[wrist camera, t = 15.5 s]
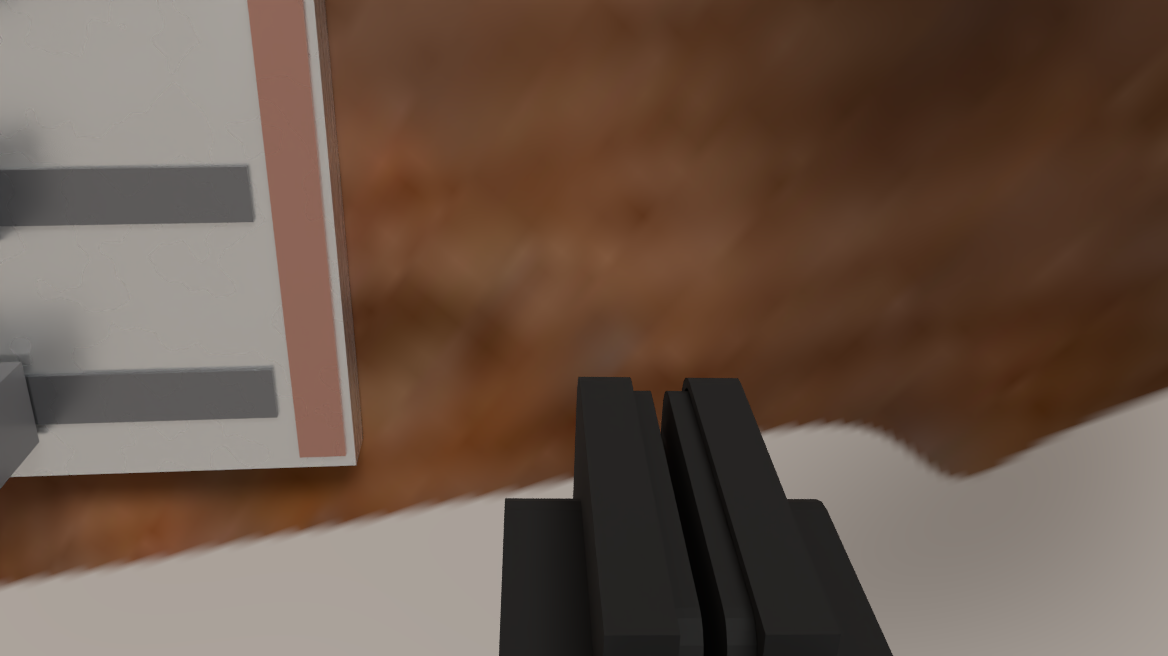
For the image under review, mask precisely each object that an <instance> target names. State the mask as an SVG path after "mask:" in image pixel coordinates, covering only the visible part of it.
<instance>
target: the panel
mask: <svg viewBox="0 0 1168 656" xmlns="http://www.w3.org/2000/svg"><path fill="white" fill-rule="evenodd" d="M0 362H22V366H23V370H24V375H25V379H26V384H27V388H28V393H29V397H30V402H31V406H32V411H33V415H34V420H35V424H36V429H37V433H38V438H39V443H38V444H37V445H36V447H35V448H34V449H33V450H32V451H31V453H30V454H29V455H28V456H27V457H26V459H25V460H24V461H23V462H22V463H21V465H20V466H19V467H18V468H17V469H16V471H15V472H14V473H13V474H12V475H11V477H24V476H54V475H84V474H113V473H143V472H173V471H202V470H232V469H261V468H291V467H321V466H350V465H357V461H358V457H359V453H360V449H361V445H362V441H363V432H362V420H361V409H360V397H359V386H358V374H357V363H356V352H355V340H354V329H353V317H352V306H351V294H350V283H349V272H348V260H347V249H346V237H345V226H344V214H343V203H342V191H341V180H340V169H339V157H338V146H337V134H336V123H335V111H334V100H333V89H332V77H331V66H330V54H329V43H328V31H327V20H326V8H325V0H0Z"/></svg>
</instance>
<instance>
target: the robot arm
mask: <svg viewBox="0 0 1168 656" xmlns="http://www.w3.org/2000/svg"><path fill="white" fill-rule="evenodd" d="M499 656H893V655H892V653H891V650H890V648H889V646H888V644H887V642H886V639H885V637H884V635H883V633H882V630H881V628H880V626H879V624H878V622H877V620H876V617H875V615H874V613H873V611H872V608H871V606H870V604H869V602H868V600H867V597H866V595H865V593H864V591H863V588H862V586H861V584H860V582H859V580H858V578H857V575H856V573H855V571H854V569H853V566H852V564H851V562H850V560H849V558H848V555H847V553H846V551H845V549H844V547H843V545H842V542H841V540H840V538H839V536H838V533H837V531H836V529H835V527H834V524H833V522H832V520H831V518H830V516H829V513H828V511H827V509H826V508H825V506H824V505H823V503H822V502H821V501H819V500H816V499H787V498H786V496H785V493H784V491H783V488H782V486H781V483H780V481H779V478H778V476H777V473H776V471H775V468H774V465H773V463H772V460H771V458H770V455H769V453H768V451H767V448H766V445H765V443H764V440H763V438H762V435H761V433H760V430H759V428H758V425H757V423H756V420H755V418H754V415H753V413H752V410H751V408H750V405H749V403H748V400H747V398H746V395H745V393H744V390H743V388H742V385H741V383H740V381H739V379H738V378H685V380H684V383H683V387H682V391H666V392H665V394H664V400H663V410H662V423H661V434H660V429H659V425H658V420H657V416H656V412H655V407H654V403H653V398H652V394H651V391H633V386H632V381H631V378H630V377H579V378H578V386H577V408H576V436H575V463H574V491H573V499H517V498H515V499H514V498H513V499H512V498H506V499H505V513H504V539H503V566H502V592H501V618H500V645H499Z"/></svg>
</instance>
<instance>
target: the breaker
mask: <svg viewBox="0 0 1168 656" xmlns="http://www.w3.org/2000/svg"><path fill="white" fill-rule="evenodd" d="M38 443H39V438H38V433H37V429H36V424H35V420H34V415H33V411H32V406H31V402H30V397H29V393H28V388H27V384H26V379H25V375H24V370H23V366H22V362H0V489H1V487H2V486H3V485H4V484H5V483H6V481H7V480H8V479H9V478H10V477H11V475H12V474H13V473H14V472H15V471H16V469H17V468H18V467H19V466H20V465H21V463H22V462H23V461H24V460H25V459H26V457H27V456H28V455H29V454H30V453H31V451H32V450H33V449H34V448H35V447H36V445H37V444H38Z"/></svg>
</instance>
